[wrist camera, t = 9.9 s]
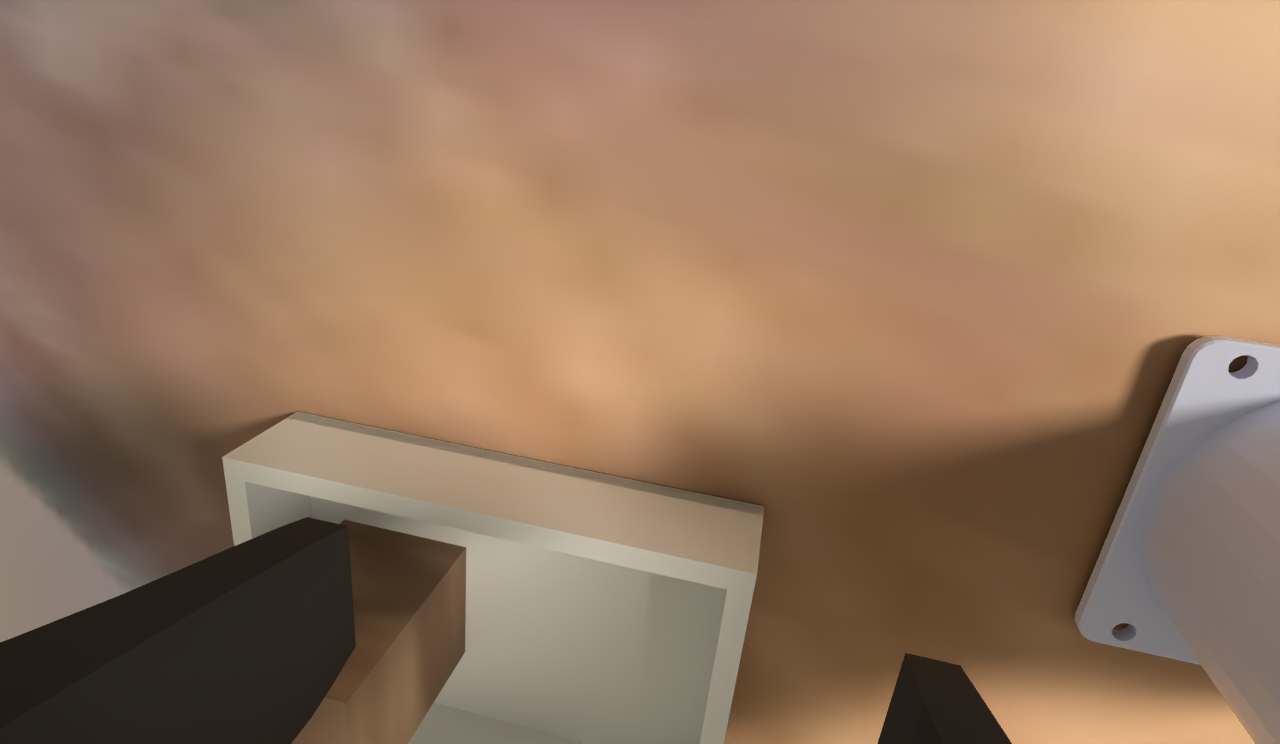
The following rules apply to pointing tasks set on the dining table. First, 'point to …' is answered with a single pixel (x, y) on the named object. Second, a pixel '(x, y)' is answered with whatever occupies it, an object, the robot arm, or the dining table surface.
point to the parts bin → (537, 579)
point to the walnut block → (394, 638)
